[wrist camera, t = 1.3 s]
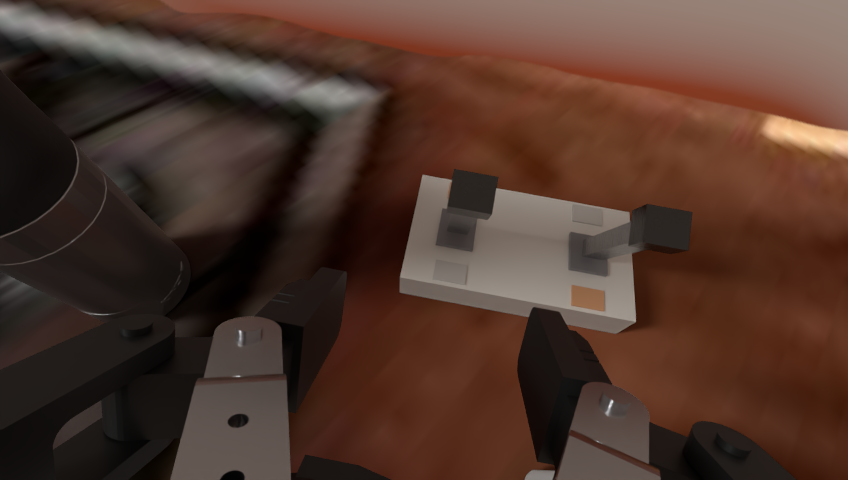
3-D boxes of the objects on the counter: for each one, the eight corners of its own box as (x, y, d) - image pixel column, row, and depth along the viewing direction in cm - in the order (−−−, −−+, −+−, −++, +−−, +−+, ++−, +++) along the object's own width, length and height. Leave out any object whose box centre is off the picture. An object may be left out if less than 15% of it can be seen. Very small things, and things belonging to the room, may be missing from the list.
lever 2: (575, 260, 40) (642, 242, 28) (579, 233, 40) (646, 204, 28) (607, 266, 40) (688, 250, 28) (610, 239, 40) (692, 212, 28)
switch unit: (399, 292, 43) (400, 275, 39) (420, 195, 48) (423, 171, 45) (615, 333, 42) (638, 320, 38) (611, 230, 48) (631, 209, 44)
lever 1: (440, 235, 40) (447, 206, 28) (445, 209, 41) (454, 169, 28) (471, 240, 40) (491, 214, 28) (476, 214, 41) (498, 177, 28)
